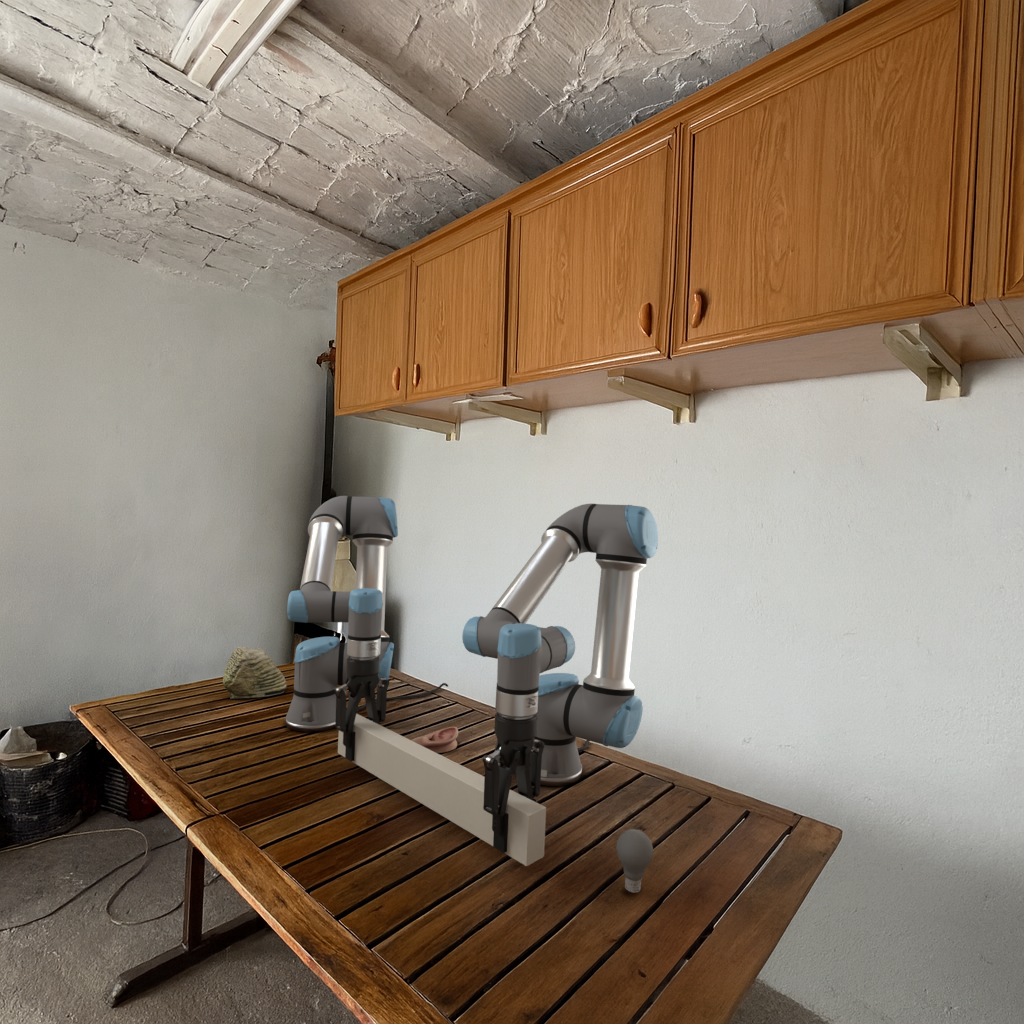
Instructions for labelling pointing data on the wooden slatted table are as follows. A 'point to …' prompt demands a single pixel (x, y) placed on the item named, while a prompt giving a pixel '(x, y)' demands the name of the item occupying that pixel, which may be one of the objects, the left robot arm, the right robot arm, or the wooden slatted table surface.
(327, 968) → the wooden slatted table surface
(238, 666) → the fossil
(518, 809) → the bar
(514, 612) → the right robot arm
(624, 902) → the wooden slatted table surface
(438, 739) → the anatomical model
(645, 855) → the light bulb
